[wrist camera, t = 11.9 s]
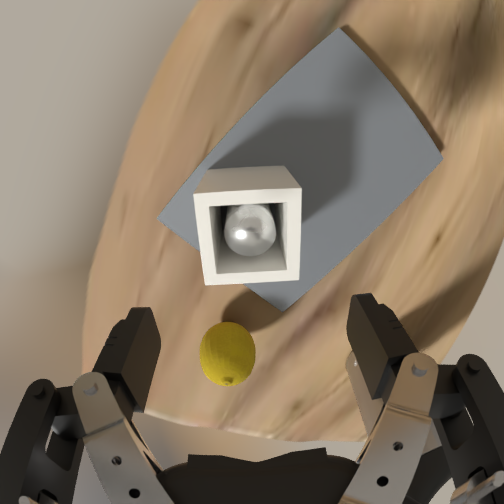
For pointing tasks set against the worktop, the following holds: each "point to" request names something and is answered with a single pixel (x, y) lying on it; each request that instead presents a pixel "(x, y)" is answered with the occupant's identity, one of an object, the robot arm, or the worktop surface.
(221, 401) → the worktop surface
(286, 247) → the duct collar
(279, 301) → the duct base
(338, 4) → the worktop surface
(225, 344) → the lemon
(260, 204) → the silver metal capsule
